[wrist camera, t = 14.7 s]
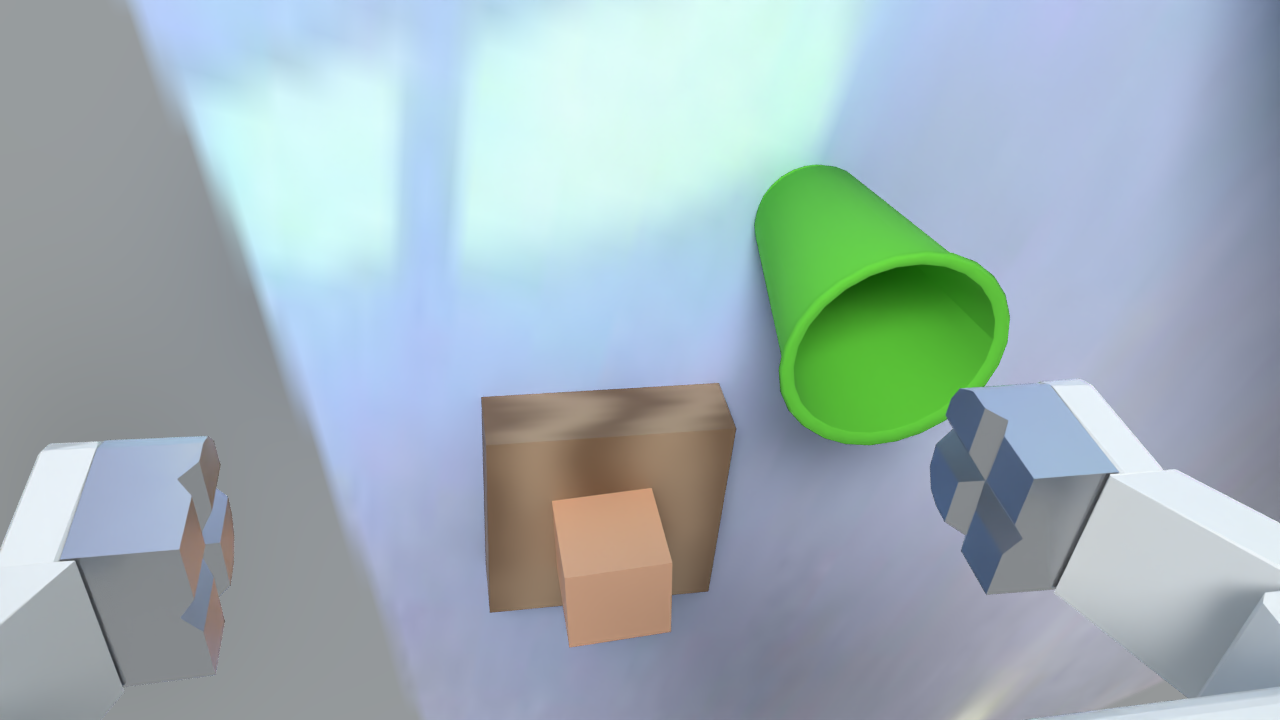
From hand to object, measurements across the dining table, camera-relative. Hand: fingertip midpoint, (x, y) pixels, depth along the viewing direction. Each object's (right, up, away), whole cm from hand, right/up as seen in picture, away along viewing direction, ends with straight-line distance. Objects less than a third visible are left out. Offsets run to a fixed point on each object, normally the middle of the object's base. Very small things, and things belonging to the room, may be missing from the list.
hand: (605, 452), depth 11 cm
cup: (+8, +8, +36) cm, 38 cm away
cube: (-1, -8, +41) cm, 42 cm away
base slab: (-2, -5, +44) cm, 45 cm away
